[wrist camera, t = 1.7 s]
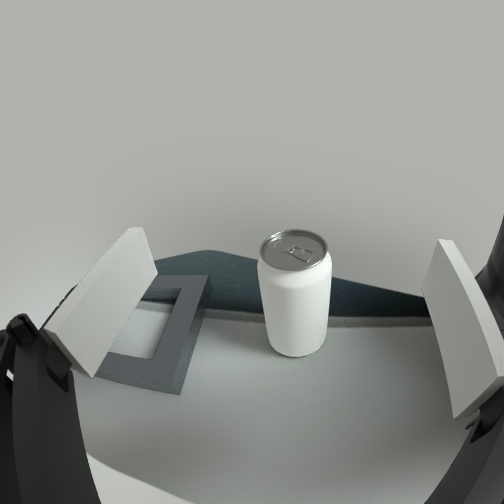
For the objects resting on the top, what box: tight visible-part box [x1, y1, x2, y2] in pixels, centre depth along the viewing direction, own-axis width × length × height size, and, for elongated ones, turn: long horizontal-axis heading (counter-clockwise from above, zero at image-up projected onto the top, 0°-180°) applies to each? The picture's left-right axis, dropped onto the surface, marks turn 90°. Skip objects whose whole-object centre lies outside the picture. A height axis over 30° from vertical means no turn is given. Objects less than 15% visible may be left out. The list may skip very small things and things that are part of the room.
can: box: [257, 229, 332, 357], centre depth 26 cm, size 6×6×12 cm
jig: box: [71, 275, 212, 395], centre depth 32 cm, size 17×16×2 cm
